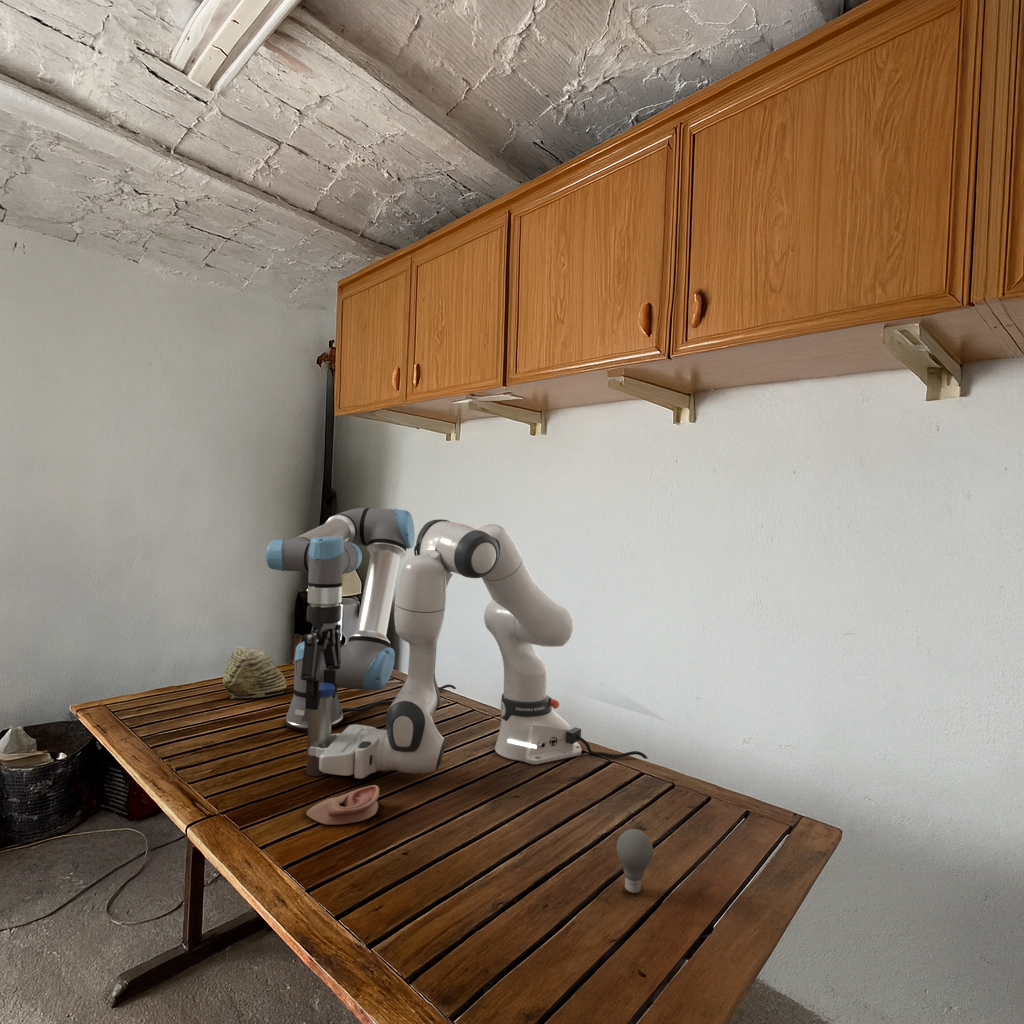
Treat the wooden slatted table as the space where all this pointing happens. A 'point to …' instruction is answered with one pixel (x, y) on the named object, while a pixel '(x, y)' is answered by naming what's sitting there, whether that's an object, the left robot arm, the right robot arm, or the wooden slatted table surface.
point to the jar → (319, 732)
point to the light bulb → (634, 857)
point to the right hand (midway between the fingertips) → (315, 744)
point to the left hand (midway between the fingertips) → (320, 702)
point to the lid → (326, 689)
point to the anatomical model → (347, 807)
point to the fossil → (252, 674)
